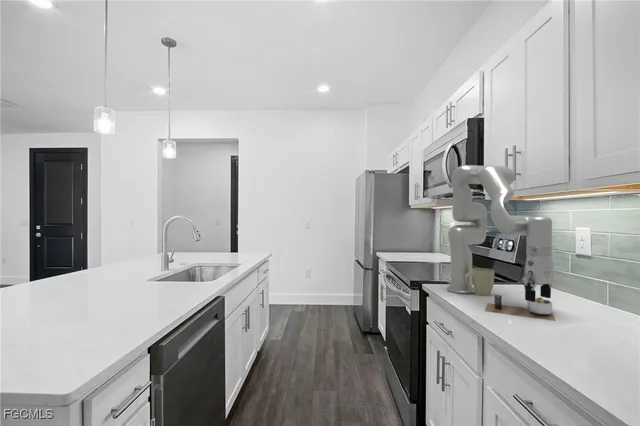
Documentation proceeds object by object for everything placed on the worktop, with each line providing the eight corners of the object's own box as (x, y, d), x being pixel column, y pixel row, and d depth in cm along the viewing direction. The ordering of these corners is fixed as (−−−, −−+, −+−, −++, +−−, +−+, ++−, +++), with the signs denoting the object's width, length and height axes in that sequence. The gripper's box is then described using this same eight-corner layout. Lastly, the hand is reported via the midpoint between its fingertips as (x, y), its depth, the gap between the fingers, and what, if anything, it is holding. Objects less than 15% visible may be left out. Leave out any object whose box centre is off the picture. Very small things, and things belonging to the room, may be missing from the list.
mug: (475, 293, 151) (475, 267, 152) (498, 297, 144) (498, 270, 144) (464, 296, 144) (464, 269, 145) (487, 301, 137) (487, 272, 137)
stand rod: (493, 307, 123) (492, 295, 123) (498, 307, 123) (498, 294, 124) (497, 309, 121) (497, 296, 121) (503, 309, 121) (503, 296, 121)
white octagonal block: (525, 307, 120) (525, 297, 120) (547, 308, 118) (546, 299, 118) (531, 312, 113) (531, 302, 113) (554, 314, 111) (554, 304, 111)
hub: (526, 312, 117) (526, 296, 117) (539, 310, 119) (539, 295, 119) (540, 316, 112) (540, 300, 112) (553, 315, 113) (553, 299, 113)
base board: (484, 314, 119) (484, 311, 119) (487, 305, 130) (487, 302, 130) (555, 324, 108) (555, 320, 108) (552, 314, 119) (552, 310, 119)
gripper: (536, 254, 108) (535, 305, 109) (563, 251, 116) (562, 298, 117) (513, 251, 115) (513, 299, 115) (540, 248, 123) (540, 293, 123)
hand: (537, 299), depth 116 cm, fingers open, 9 cm apart
